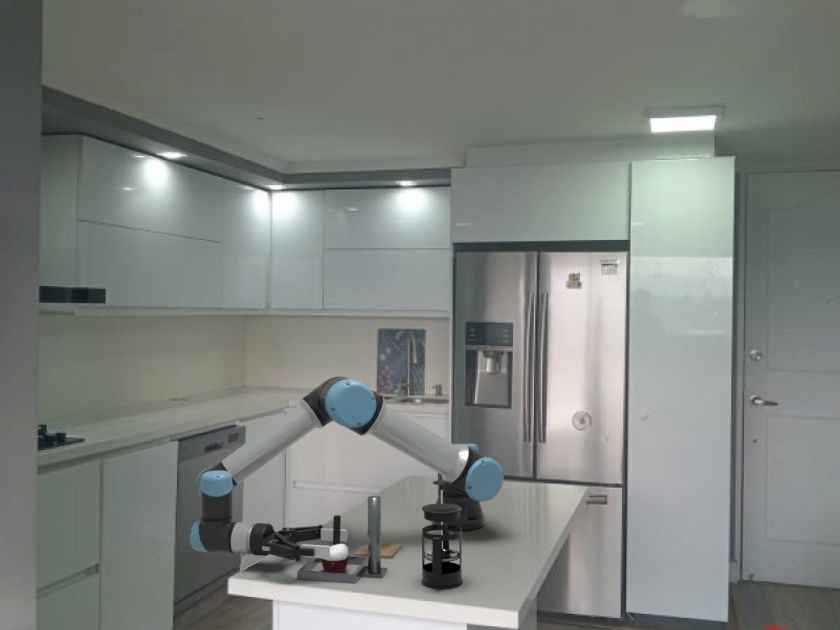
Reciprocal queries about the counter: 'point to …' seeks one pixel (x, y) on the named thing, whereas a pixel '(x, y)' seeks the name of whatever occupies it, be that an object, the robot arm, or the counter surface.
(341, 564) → the cocoa
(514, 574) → the counter surface
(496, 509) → the counter surface
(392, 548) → the walnut coaster
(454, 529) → the french press
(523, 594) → the counter surface
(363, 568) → the ring stand
